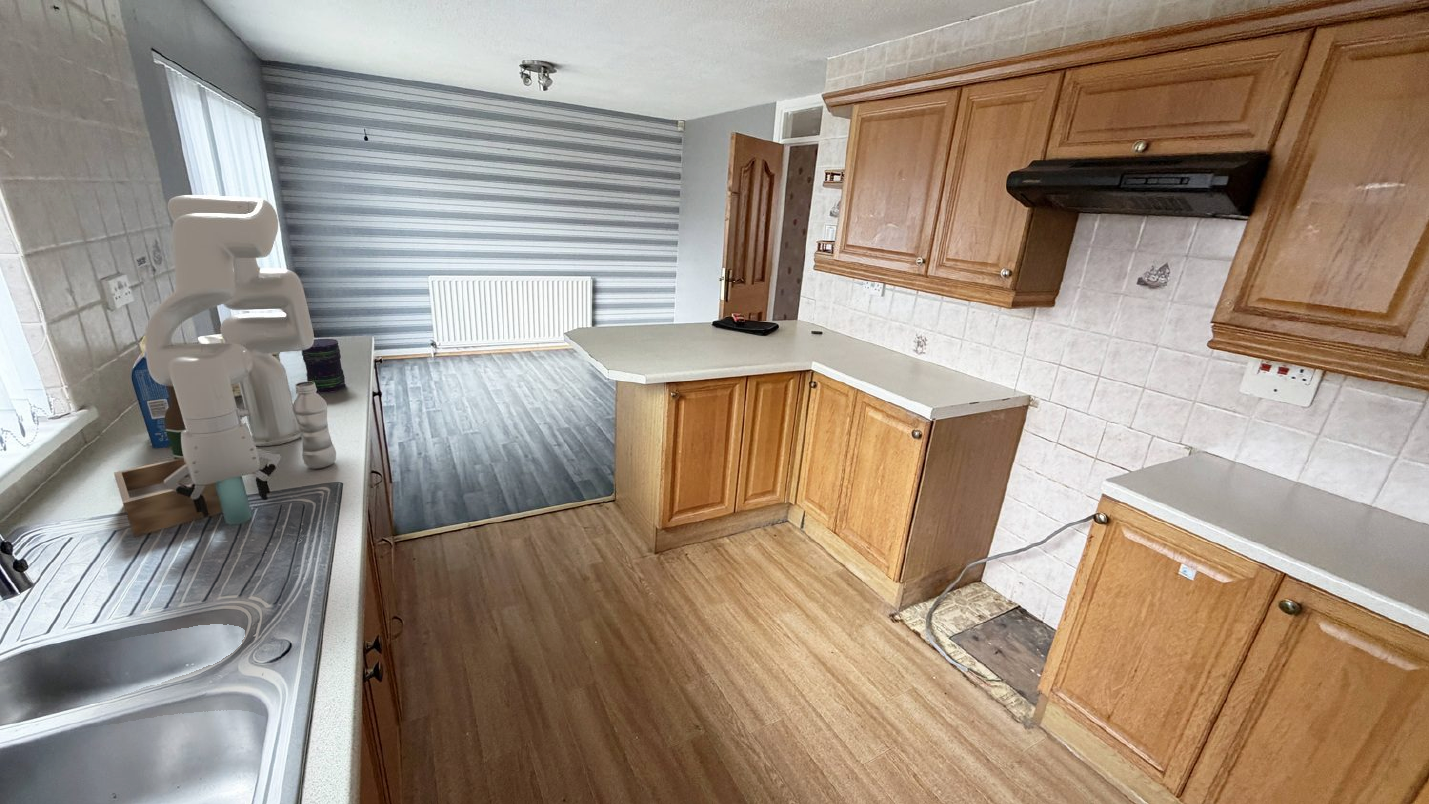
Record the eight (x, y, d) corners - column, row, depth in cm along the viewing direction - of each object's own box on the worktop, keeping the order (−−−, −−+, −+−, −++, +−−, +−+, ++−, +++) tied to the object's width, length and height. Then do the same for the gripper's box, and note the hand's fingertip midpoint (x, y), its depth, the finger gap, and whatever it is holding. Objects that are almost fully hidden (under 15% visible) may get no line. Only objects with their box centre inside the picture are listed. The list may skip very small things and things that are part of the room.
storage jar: (312, 384, 181) (303, 339, 176) (348, 382, 185) (340, 338, 180) (306, 394, 173) (296, 347, 168) (343, 391, 177) (335, 345, 172)
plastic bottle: (302, 474, 127) (284, 390, 120) (306, 461, 132) (289, 380, 125) (336, 469, 129) (320, 387, 123) (339, 457, 135) (324, 378, 128)
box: (227, 478, 123) (220, 449, 121) (245, 505, 113) (237, 474, 111) (124, 504, 111) (113, 472, 109) (134, 537, 102) (122, 503, 99)
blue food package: (189, 427, 146) (162, 333, 138) (187, 443, 138) (158, 344, 129) (156, 432, 142) (126, 336, 134) (152, 449, 134) (120, 347, 125)
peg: (249, 511, 111) (237, 466, 108) (254, 519, 109) (242, 473, 106) (223, 519, 109) (210, 472, 105) (228, 527, 106) (215, 480, 103)
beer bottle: (186, 480, 121) (154, 374, 113) (172, 470, 125) (141, 366, 117) (230, 467, 127) (203, 366, 119) (216, 458, 131) (189, 359, 123)
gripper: (266, 405, 110) (284, 484, 116) (143, 427, 98) (170, 514, 104) (276, 415, 106) (295, 497, 112) (149, 440, 93) (177, 530, 99)
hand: (235, 505), depth 108 cm, fingers open, 8 cm apart
